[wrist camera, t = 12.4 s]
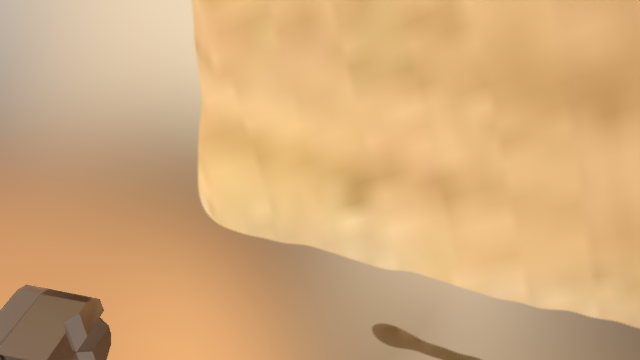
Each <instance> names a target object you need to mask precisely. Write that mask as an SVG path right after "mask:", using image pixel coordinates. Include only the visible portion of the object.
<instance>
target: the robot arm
mask: <svg viewBox="0 0 640 360" xmlns="http://www.w3.org/2000/svg"><path fill="white" fill-rule="evenodd" d="M103 311H104V309H103V307H102V304H101V301H100V299H97V298H92V297H87V296H82V295H77V294H71V293H67V292H61V291H56V290H52V289H47V288H41V287H35V286H30V285H25V286H24V287H22V288H20V289H18V290H17V291H16V293H14V295H13V296H12V297H11V298H10V299H9V301H8V302H7V303H6V304H5V305H4V307H3V308H2V309H1V310H0V360H106V359H107V356H108V353H109V349H110V346H111V332H110V329H109V326H108V325H107V324H106V323H105V322H104V321H103V320H102V319H101V318H100V316H101V314H102V313H103Z"/></svg>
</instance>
